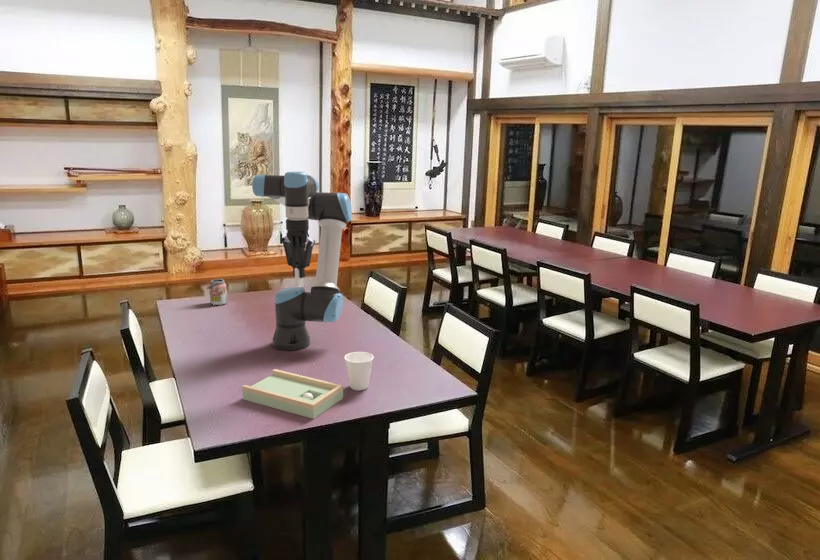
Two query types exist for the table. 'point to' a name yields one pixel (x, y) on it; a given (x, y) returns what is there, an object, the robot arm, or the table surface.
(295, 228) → the robot arm
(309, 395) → the ball
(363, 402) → the table surface
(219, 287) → the beverage can
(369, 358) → the cup
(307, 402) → the green tray with hole
